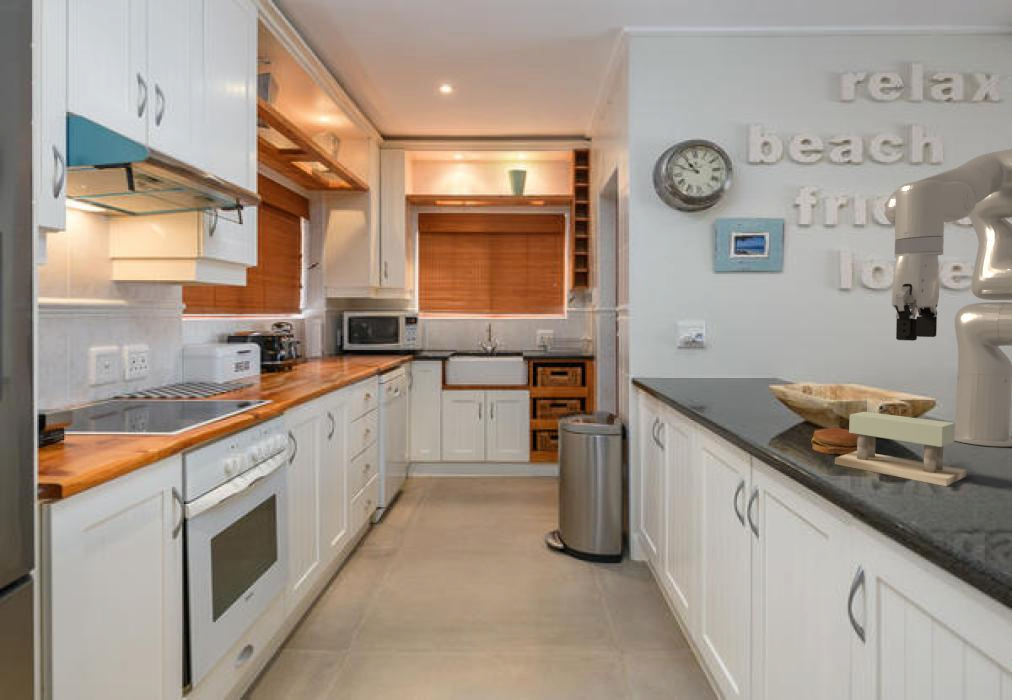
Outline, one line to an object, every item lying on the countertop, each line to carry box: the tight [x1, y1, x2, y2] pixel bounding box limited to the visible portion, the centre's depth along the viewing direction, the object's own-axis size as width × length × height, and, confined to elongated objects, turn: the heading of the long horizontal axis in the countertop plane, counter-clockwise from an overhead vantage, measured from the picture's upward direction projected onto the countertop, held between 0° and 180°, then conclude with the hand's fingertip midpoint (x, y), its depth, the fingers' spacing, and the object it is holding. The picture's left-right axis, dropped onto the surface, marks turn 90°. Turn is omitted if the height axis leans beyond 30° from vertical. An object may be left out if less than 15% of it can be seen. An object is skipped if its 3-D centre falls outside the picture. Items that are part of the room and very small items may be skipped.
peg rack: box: [834, 434, 967, 487], centre depth 107 cm, size 10×18×6 cm, turn 36°
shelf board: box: [848, 411, 955, 448], centre depth 106 cm, size 6×15×4 cm, turn 35°
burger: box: [810, 427, 858, 456], centre depth 122 cm, size 10×9×5 cm
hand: (916, 338), depth 110 cm, fingers open, 9 cm apart
